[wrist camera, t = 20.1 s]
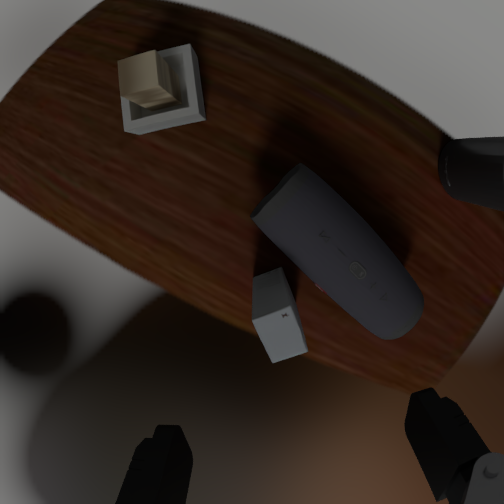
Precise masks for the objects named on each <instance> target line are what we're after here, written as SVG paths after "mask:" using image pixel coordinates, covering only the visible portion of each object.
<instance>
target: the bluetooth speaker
mask: <svg viewBox="0 0 504 504" xmlns="http://www.w3.org/2000/svg"><path fill="white" fill-rule="evenodd" d="M250 217H251V219H252V220H253V221H254V222H255V223H256V225H257V226H258V227H259V228H260V229H261V230H262V231H263V233H264V234H265V235H266V236H267V237H268V238H269V239H270V240H271V241H272V242H273V243H274V244H275V245H276V246H277V247H278V248H279V249H280V250H281V251H282V252H283V253H284V254H285V255H286V256H287V257H288V258H289V259H290V260H292V261H293V262H294V263H295V264H296V265H297V266H298V267H299V268H300V269H301V270H302V271H303V272H304V273H305V274H306V275H307V276H308V277H309V278H310V279H311V280H312V281H313V282H314V284H315V285H316V286H317V287H318V288H320V289H321V290H322V291H323V292H324V293H326V294H327V295H329V296H330V297H331V298H332V299H333V300H334V301H335V302H336V303H338V304H339V305H340V306H341V307H342V308H343V309H344V310H345V311H347V312H348V313H349V314H350V315H351V316H352V317H354V318H355V319H356V320H357V321H358V322H359V323H361V324H362V325H363V326H364V327H365V328H367V329H368V330H369V331H371V332H372V333H373V334H375V335H376V336H378V337H380V338H382V339H396V338H399V337H401V336H403V335H404V334H406V333H407V332H408V331H409V330H411V329H412V328H413V327H414V325H415V324H416V323H417V322H418V320H419V319H420V317H421V315H422V312H423V307H424V298H423V295H422V293H421V291H420V289H419V287H418V286H417V284H416V283H415V281H414V280H413V278H412V277H411V276H410V274H409V273H408V271H407V270H406V269H405V268H404V266H403V265H402V264H401V262H400V261H399V260H398V258H397V257H396V256H395V255H394V253H393V252H392V251H391V250H390V249H389V247H388V246H387V245H386V244H385V243H384V241H383V240H382V239H381V238H380V237H379V236H378V234H377V233H376V232H375V231H374V230H373V229H372V228H371V227H370V226H369V225H368V223H367V222H366V221H365V220H364V219H363V218H362V217H361V216H360V215H359V214H358V213H357V212H356V211H355V210H354V209H353V208H352V207H351V206H350V205H349V204H348V203H347V202H346V201H345V200H344V199H343V198H342V197H341V196H340V195H339V194H338V193H337V192H336V191H334V190H333V189H332V188H331V187H330V186H329V185H328V184H327V183H326V182H325V181H324V180H323V179H321V178H320V177H319V176H318V175H317V174H316V173H314V172H313V171H312V170H310V169H309V168H308V167H306V166H305V165H303V164H302V163H299V164H298V165H296V166H295V167H294V168H293V169H291V170H290V171H289V172H288V173H287V174H286V175H285V176H284V177H283V178H282V180H281V181H280V182H279V184H278V185H277V186H276V187H275V188H274V189H273V190H272V191H271V192H270V193H269V194H268V195H267V196H265V197H264V198H263V199H262V201H261V202H260V203H259V204H258V205H257V207H256V208H255V209H254V211H253V212H252V214H251V215H250Z"/></svg>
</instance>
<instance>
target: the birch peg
mask: <svg viewBox="0 0 504 504" xmlns="http://www.w3.org/2000/svg"><path fill="white" fill-rule="evenodd" d="M118 72H119V85H120V96H122V97H124V98H126V99H128V100H130V101H132V102H134V103H136V104H138V105H140V106H142V107H144V108H146V109H148V110H150V111H156V110H160V109H164V108H168V107H172V106H177V105H181V104H182V99H181V92H180V84H179V76H178V75H177V74H176V72H175V71H174V70H173V69H172V68H171V67H170V66H169V65H168V63H167V62H166V61H165V60H164V59H163V58H162V57H161V56H160V55H159V54H158V52H157V51H156V50H152V51H148V52H145V53H142V54H138V55H135V56H132V57H129V58H126V59H123V60H120V61H118Z"/></svg>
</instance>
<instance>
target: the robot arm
mask: <svg viewBox="0 0 504 504" xmlns="http://www.w3.org/2000/svg"><path fill="white" fill-rule="evenodd" d="M439 176H440V180H441V183H442V185H443V187H444V189H445V190H446V192H447V193H448V194H449V195H450V196H451V197H453V198H455V199H457V200H461V201H465V202H469V203H473V204H476V205H480V206H484V207H488V208H492V209H496V210H500V211H503V212H504V137H485V138H466V139H455V140H452V141H450V142H449V143H447V144H446V146H445V147H444V148H443V150H442V152H441V155H440V158H439ZM405 432H406V435H407V438H408V440H409V442H410V444H411V446H412V449H413V450H414V453H415V455H416V457H417V459H418V461H419V464H420V466H421V468H422V470H423V472H424V474H425V477H426V479H427V481H428V483H429V486H430V488H431V490H432V492H433V494H434V497H435V499H436V502H438V501H440V500H443V499H445V498H447V499H448V501H449V504H504V455H502V454H500V453H492V452H490V450H489V449H488V448H487V446H486V445H485V443H484V442H483V440H482V439H481V437H480V436H479V434H478V433H477V431H476V430H475V429H474V427H473V426H472V424H471V423H469V420H468V418H467V417H466V415H464V413H463V411H462V410H461V408H460V407H459V406H458V404H457V403H455V402H454V401H452V400H451V399H449V398H447V397H444V398H440V397H439V396H438V394H437V392H436V391H435V390H434V389H433V388H427V389H424V390H421V391H418V392H414V393H412V394H411V396H410V400H409V405H408V410H407V414H406V418H405ZM192 467H193V456H192V451H191V449H190V447H189V444H188V442H187V440H186V438H185V435H184V433H183V431H182V428H181V427H180V426H179V425H158V426H157V427H156V429H155V432H154V435H153V438H145V439H144V440H143V441H142V442H141V443H140V444H139V445H138V446H137V447H136V449H135V452H134V455H133V457H132V461H131V463H130V465H129V470H128V471H127V474H126V477H125V479H124V482H123V484H122V487H121V490H120V493H119V495H118V498H117V501H116V503H115V504H186V498H187V493H188V488H189V482H190V477H191V472H192Z"/></svg>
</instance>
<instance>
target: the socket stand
mask: <svg viewBox="0 0 504 504" xmlns="http://www.w3.org/2000/svg"><path fill="white" fill-rule="evenodd" d="M158 54H159V55H160V56H161V57H162V58H163V59H164V60H165V61H166V62H167V63H168V65H169V66H170V67H171V68H172V69H173V70H174V71H175V72H176V74H177V75H178V76H179V84H180V92H181V99H182V104H181V105H177V106H172V107H168V108H164V109H160V110H156V111H150V110H148V109H146V108H144V107H142V106H140V105H138V104H136V103H134V102H132V101H130V100H128V99H126V98H124V97H122V96H121V104H122V114H123V123H124V131H126V132H130V133H134V134H138V135H141V134H144V133H149V132H153V131H157V130H161V129H165V128H170V127H174V126H179V125H184V124H189V123H194V122H199V121H204V120H206V116H205V109H204V101H203V94H202V87H201V79H200V72H199V64H198V57H197V55H196V53H195V52H194V50H193V48H192V46H191V44H187V45H182V46H178V47H174V48H170V49H166V50H162V51H158Z"/></svg>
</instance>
